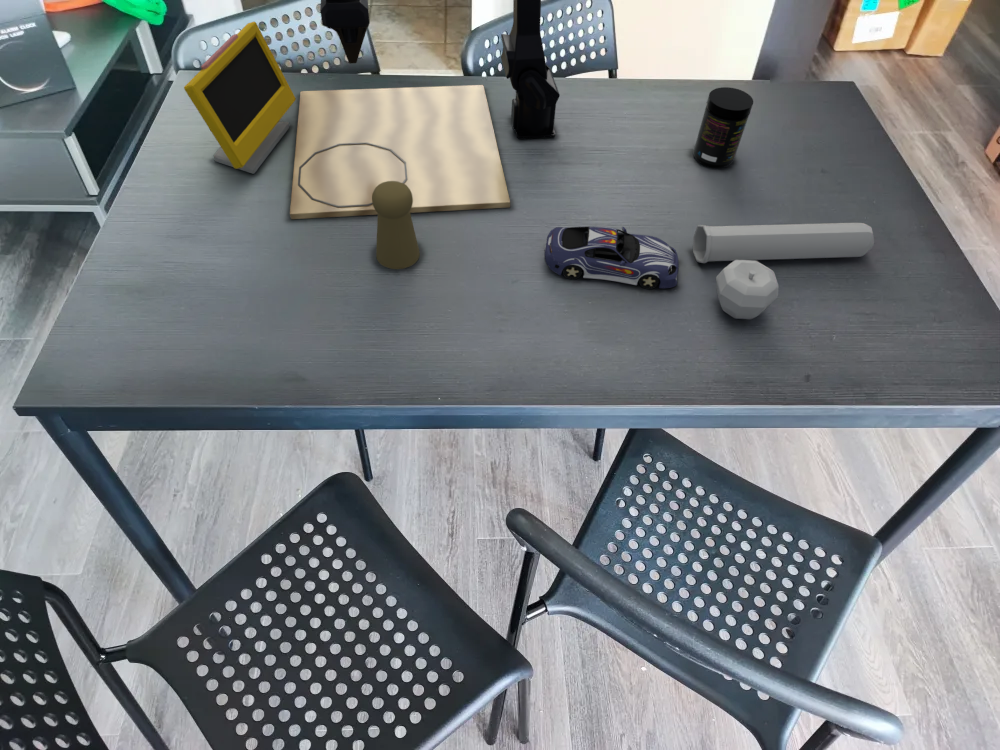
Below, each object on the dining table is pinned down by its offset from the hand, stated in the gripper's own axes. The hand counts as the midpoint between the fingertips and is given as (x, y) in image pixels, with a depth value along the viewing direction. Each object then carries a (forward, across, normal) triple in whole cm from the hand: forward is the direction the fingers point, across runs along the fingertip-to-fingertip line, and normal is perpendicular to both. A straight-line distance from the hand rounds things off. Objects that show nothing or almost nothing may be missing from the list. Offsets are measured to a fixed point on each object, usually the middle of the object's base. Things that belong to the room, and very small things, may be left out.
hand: (352, 47), depth 104 cm
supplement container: (+15, +11, +56) cm, 59 cm away
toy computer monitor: (+15, +2, -18) cm, 23 cm away
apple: (+15, +45, +48) cm, 68 cm away
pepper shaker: (+15, +30, +4) cm, 34 cm away
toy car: (+15, +35, +33) cm, 50 cm away
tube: (+15, +35, +58) cm, 70 cm away
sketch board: (+15, +4, +5) cm, 16 cm away
